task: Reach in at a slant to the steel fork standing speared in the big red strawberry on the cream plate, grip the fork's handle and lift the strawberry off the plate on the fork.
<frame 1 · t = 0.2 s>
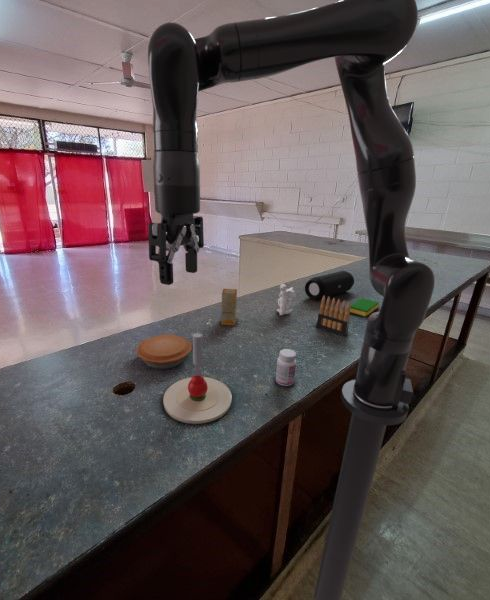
hand: (180, 277, 57), 32 cm above the counter, tool pointing down, fingers open, 8 cm apart
pie: (165, 359, 91), on the counter
pill bottle: (284, 381, 82), on the counter
plate: (197, 399, 74), on the counter
shoe polish box: (228, 322, 115), on the counter
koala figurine: (283, 313, 125), on the counter
dish sponge: (363, 310, 130), on the counter
forked strawberry: (197, 396, 74), point 1 cm above the counter, touching plate
ammunition clip: (331, 330, 111), on the counter
portable speaker: (328, 295, 145), on the counter
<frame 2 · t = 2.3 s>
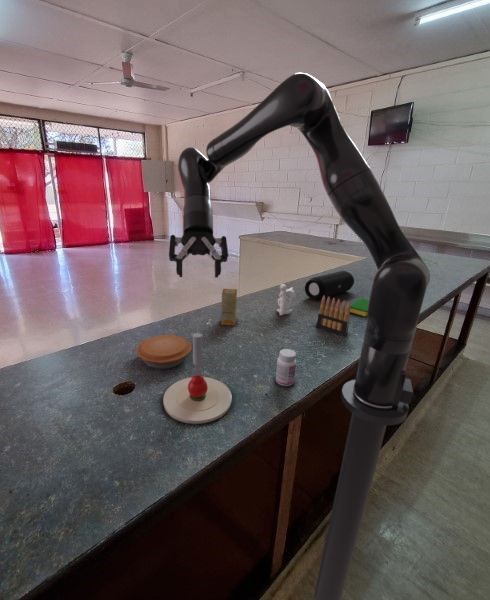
hand: (199, 276, 75), 27 cm above the counter, tool tilted 40°, fingers open, 8 cm apart
nothing on the counter moved.
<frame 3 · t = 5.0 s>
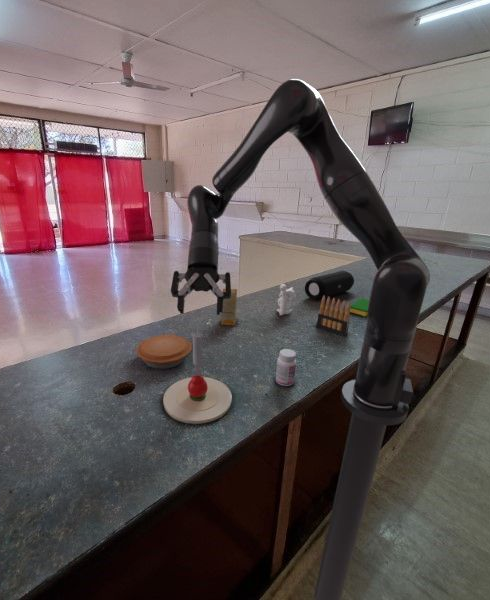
hand: (199, 313, 73), 19 cm above the counter, tool tilted 45°, fingers open, 8 cm apart
nothing on the counter moved.
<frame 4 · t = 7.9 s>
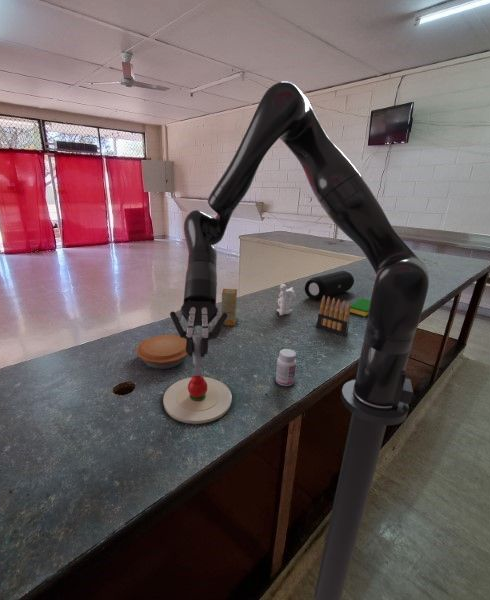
hand: (196, 356, 68), 13 cm above the counter, tool tilted 45°, fingers closed on forked strawberry
forked strawberry: (197, 396, 74), point 1 cm above the counter, touching gripper, plate
everything else where it was.
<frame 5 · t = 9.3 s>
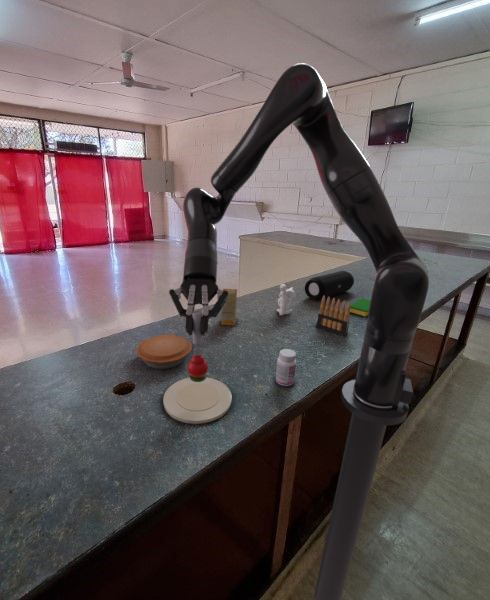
hand: (196, 334, 66), 18 cm above the counter, tool tilted 45°, fingers closed on forked strawberry
forked strawberry: (198, 377, 72), point 6 cm above the counter, touching gripper
everything else where it was.
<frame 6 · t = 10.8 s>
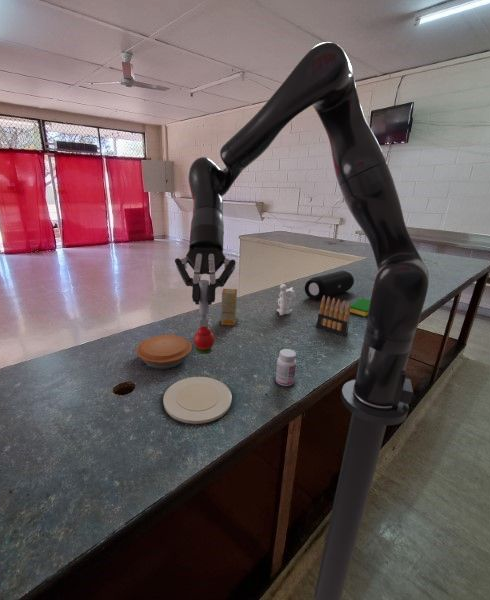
hand: (203, 303, 64), 25 cm above the counter, tool tilted 45°, fingers closed on forked strawberry
forked strawberry: (204, 349, 70), point 13 cm above the counter, touching gripper
everything else where it was.
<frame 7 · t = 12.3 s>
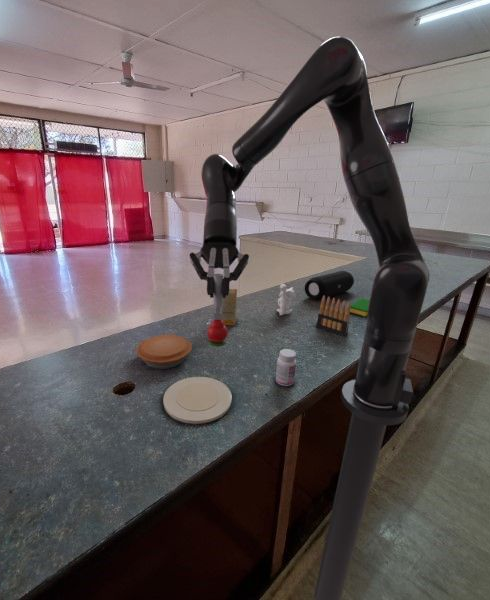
hand: (218, 296, 66), 26 cm above the counter, tool tilted 45°, fingers closed on forked strawberry
forked strawberry: (217, 342, 72), point 14 cm above the counter, touching gripper
everything else where it was.
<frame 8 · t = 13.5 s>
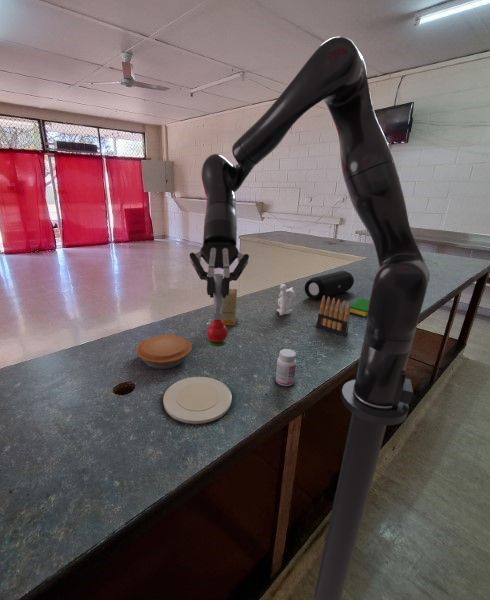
hand: (218, 296, 66), 26 cm above the counter, tool tilted 45°, fingers closed on forked strawberry
forked strawberry: (217, 342, 72), point 14 cm above the counter, touching gripper
everything else where it was.
at the end: forked strawberry point 13.9 cm above the counter; forked strawberry tilted 0° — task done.
